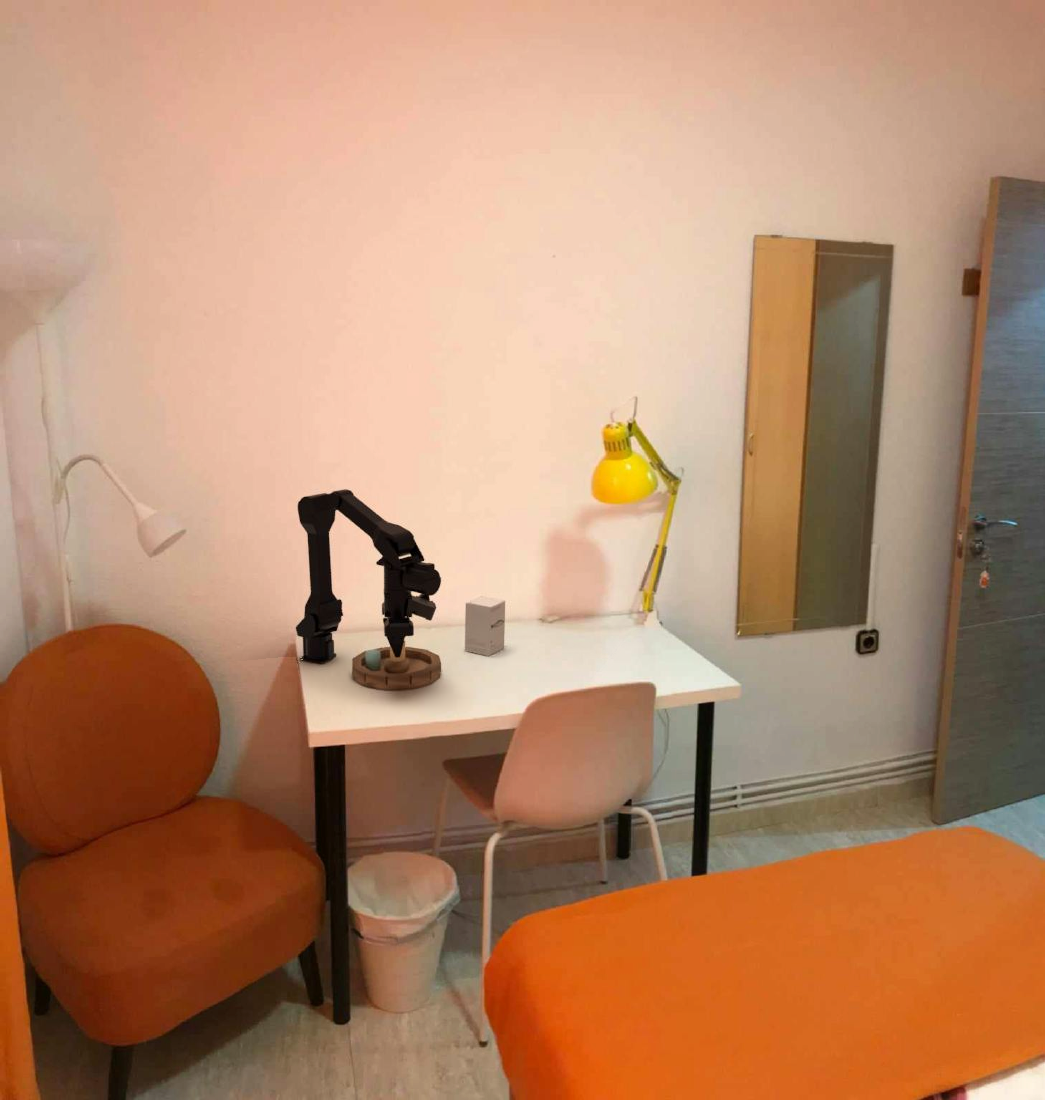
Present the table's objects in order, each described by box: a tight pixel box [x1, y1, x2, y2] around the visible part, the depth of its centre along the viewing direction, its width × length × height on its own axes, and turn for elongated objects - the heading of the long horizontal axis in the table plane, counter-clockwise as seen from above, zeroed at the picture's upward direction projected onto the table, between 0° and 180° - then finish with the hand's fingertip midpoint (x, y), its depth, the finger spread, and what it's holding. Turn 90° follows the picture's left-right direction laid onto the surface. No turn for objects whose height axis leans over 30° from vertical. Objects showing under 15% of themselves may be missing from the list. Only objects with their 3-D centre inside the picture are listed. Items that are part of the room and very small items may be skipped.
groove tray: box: [351, 646, 442, 691], centre depth 228 cm, size 20×20×3 cm
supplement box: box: [464, 596, 506, 657], centre depth 245 cm, size 7×7×13 cm
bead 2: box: [389, 640, 406, 661], centre depth 222 cm, size 3×3×4 cm
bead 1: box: [364, 649, 381, 671], centre depth 228 cm, size 3×3×4 cm
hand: (397, 654), depth 222 cm, fingers closed on bead 2, 3 cm apart
